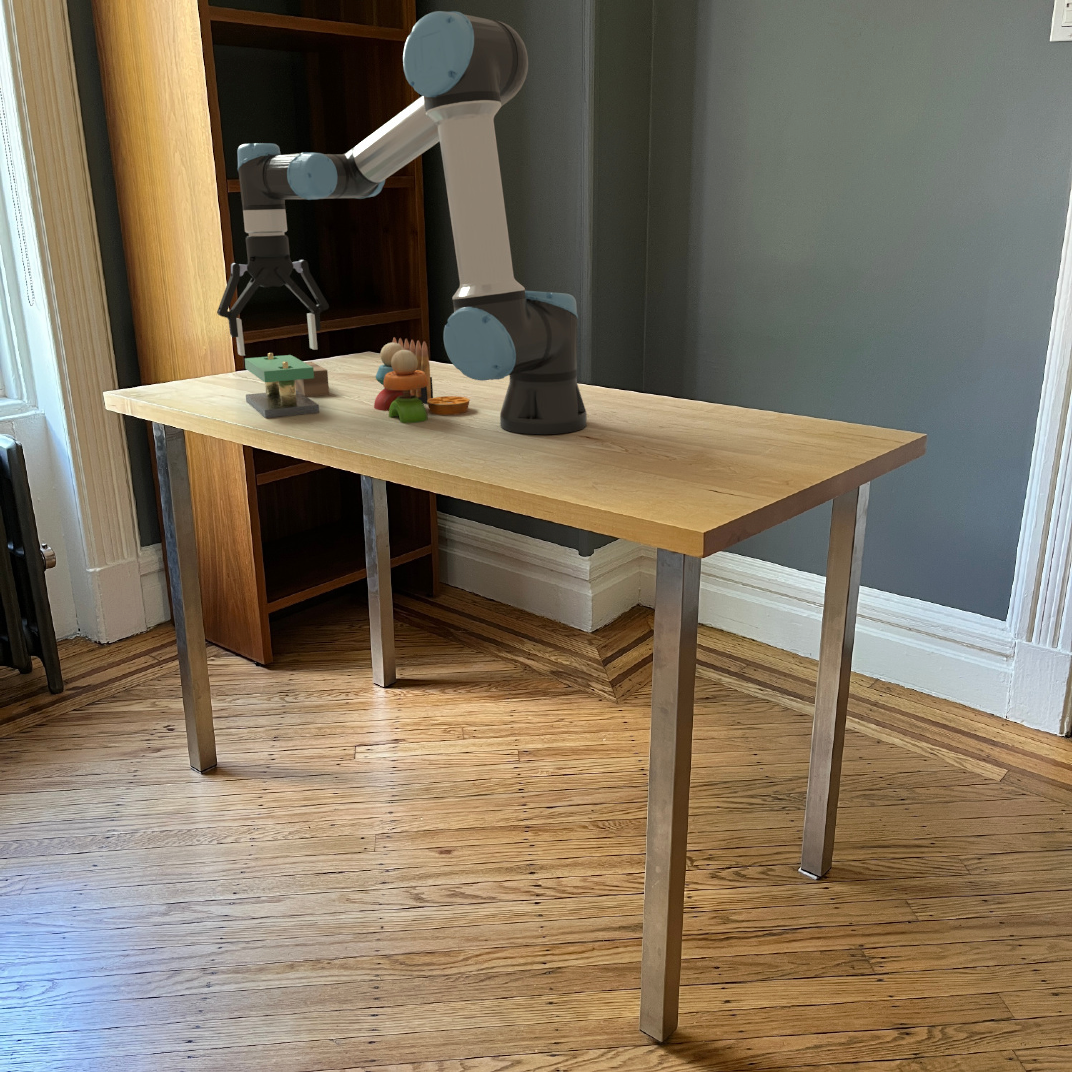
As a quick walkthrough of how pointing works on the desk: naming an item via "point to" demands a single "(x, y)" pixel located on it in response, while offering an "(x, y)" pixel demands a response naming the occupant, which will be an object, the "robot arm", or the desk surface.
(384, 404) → the colourful wooden toy set
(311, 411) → the chassis
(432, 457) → the desk surface
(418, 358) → the ammunition clip
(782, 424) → the desk surface
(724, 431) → the desk surface
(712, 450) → the desk surface
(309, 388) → the stand
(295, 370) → the board
